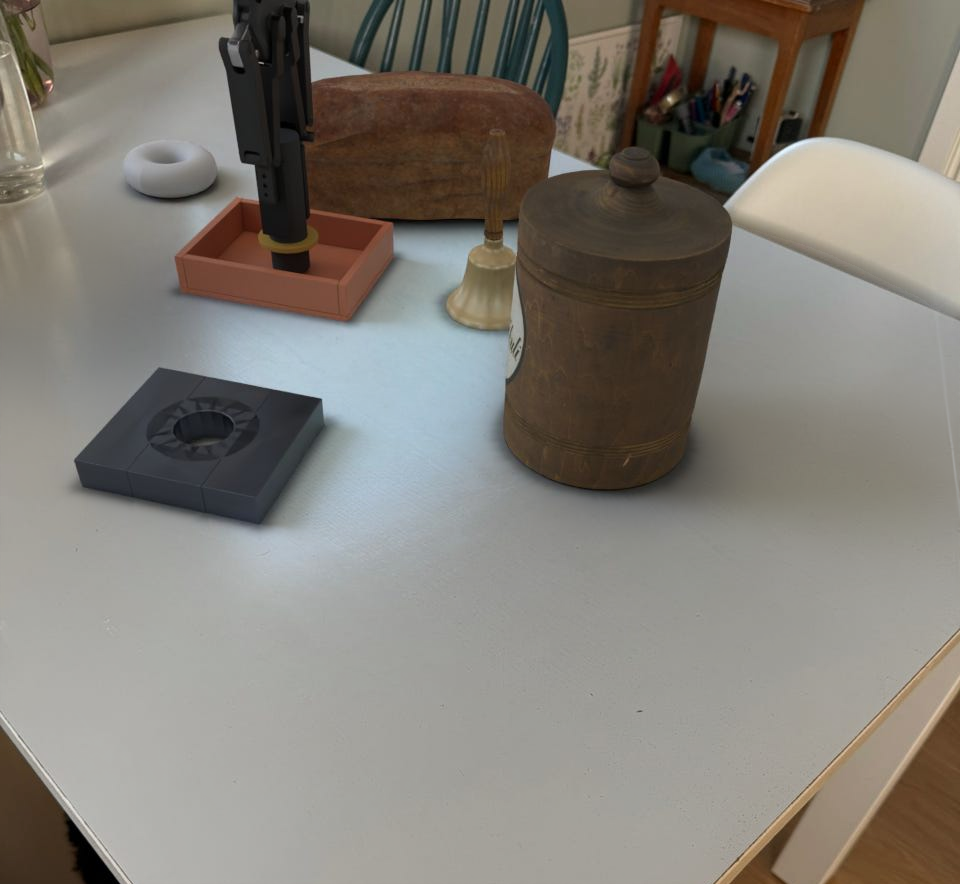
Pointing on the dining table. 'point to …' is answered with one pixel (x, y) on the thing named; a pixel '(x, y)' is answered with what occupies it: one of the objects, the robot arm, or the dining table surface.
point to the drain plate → (203, 468)
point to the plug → (292, 214)
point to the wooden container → (611, 321)
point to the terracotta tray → (252, 280)
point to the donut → (170, 168)
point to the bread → (421, 143)
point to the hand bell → (489, 251)
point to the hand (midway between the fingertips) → (286, 224)
